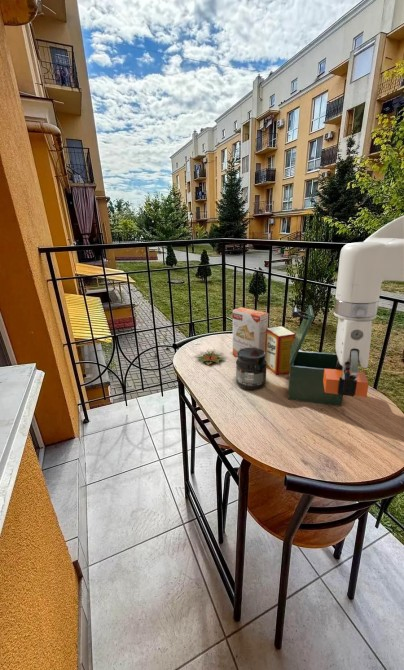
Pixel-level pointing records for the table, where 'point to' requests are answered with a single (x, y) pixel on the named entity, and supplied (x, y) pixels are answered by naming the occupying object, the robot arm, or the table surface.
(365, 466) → the table surface
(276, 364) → the baking soda box
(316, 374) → the bin
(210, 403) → the table surface
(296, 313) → the bin lid
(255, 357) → the supplement container
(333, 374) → the block
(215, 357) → the green red plant
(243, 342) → the cracker box
